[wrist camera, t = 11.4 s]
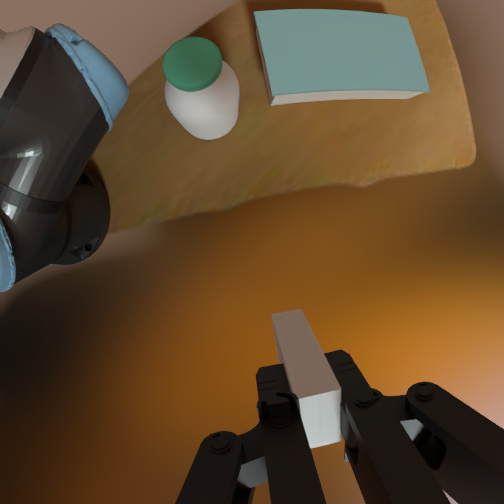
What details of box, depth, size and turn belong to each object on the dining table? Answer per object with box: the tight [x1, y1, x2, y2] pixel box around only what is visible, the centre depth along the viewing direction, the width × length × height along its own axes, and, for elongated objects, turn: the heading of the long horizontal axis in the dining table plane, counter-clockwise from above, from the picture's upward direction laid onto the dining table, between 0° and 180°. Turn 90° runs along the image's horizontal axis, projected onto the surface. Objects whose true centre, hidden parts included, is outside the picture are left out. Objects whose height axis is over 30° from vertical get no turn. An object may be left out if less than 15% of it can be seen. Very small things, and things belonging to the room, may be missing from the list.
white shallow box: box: [255, 27, 424, 106], centre depth 35 cm, size 22×12×5 cm, turn 100°
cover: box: [253, 9, 430, 96], centre depth 32 cm, size 23×13×1 cm, turn 100°
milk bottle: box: [162, 37, 240, 140], centre depth 29 cm, size 8×8×20 cm
